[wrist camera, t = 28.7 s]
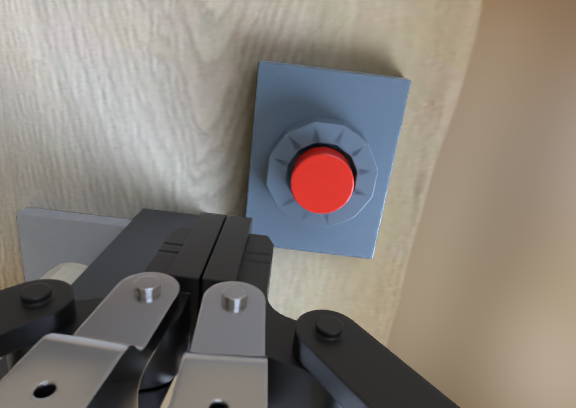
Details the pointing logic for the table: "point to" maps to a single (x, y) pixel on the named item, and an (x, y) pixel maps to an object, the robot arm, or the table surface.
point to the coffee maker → (92, 246)
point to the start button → (321, 180)
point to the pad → (323, 133)
